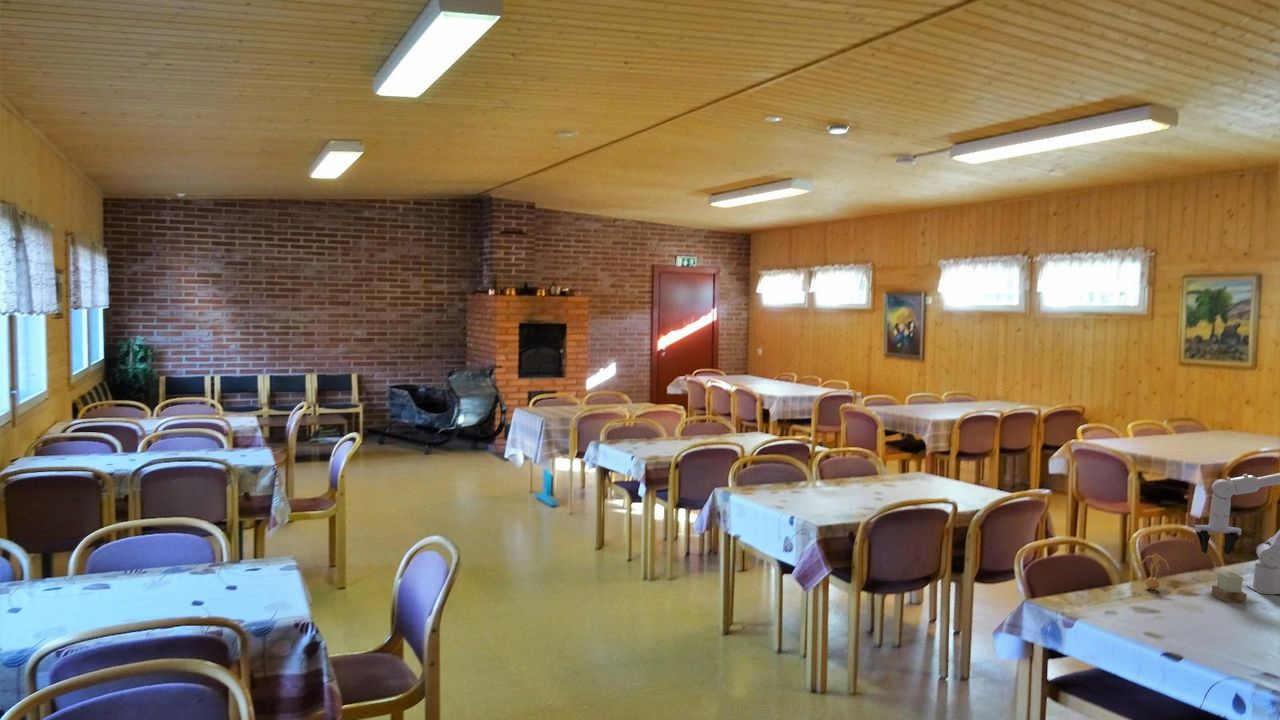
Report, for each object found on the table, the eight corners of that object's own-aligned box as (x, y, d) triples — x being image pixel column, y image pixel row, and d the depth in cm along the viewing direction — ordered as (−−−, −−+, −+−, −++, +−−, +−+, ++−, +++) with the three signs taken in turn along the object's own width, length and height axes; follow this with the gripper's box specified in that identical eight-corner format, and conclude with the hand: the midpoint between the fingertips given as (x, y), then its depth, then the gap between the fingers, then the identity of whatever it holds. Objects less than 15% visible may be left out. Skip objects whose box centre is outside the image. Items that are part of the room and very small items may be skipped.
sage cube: (1232, 587, 303) (1234, 572, 302) (1241, 592, 298) (1242, 577, 297) (1216, 586, 303) (1218, 571, 303) (1225, 591, 298) (1227, 576, 298)
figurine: (1137, 587, 308) (1140, 552, 306) (1140, 583, 312) (1143, 549, 311) (1165, 593, 302) (1168, 558, 301) (1168, 589, 307) (1171, 554, 306)
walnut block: (1233, 595, 304) (1234, 587, 304) (1245, 603, 297) (1246, 594, 297) (1211, 594, 304) (1212, 585, 304) (1223, 601, 297) (1224, 592, 297)
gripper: (1204, 515, 312) (1200, 554, 313) (1248, 518, 311) (1243, 557, 313) (1193, 510, 319) (1189, 548, 320) (1236, 513, 318) (1231, 551, 320)
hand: (1215, 553), depth 317 cm, fingers open, 7 cm apart
